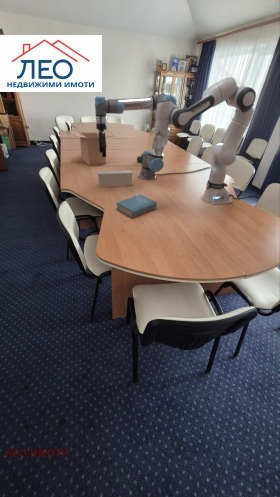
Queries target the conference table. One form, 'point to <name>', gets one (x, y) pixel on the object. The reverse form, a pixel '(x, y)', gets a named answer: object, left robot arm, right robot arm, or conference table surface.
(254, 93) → the right robot arm
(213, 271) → the conference table surface
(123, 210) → the book
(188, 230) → the conference table surface
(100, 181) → the long box
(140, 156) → the laser sight
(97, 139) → the box
